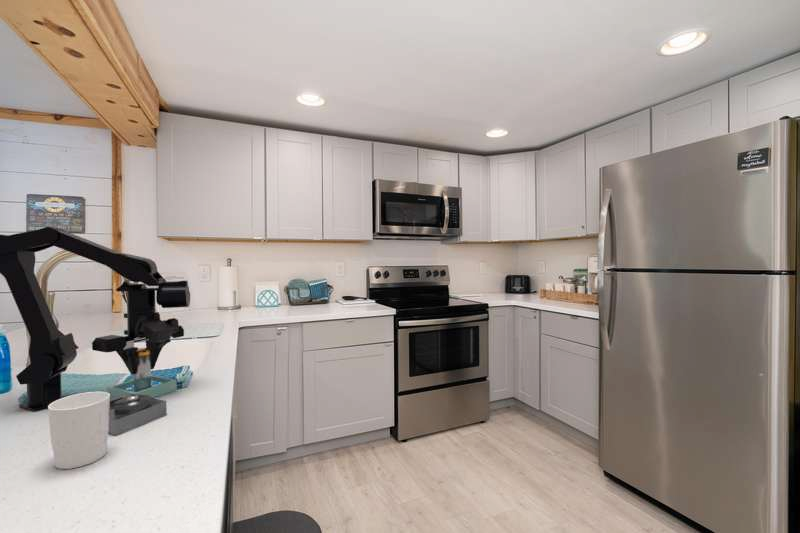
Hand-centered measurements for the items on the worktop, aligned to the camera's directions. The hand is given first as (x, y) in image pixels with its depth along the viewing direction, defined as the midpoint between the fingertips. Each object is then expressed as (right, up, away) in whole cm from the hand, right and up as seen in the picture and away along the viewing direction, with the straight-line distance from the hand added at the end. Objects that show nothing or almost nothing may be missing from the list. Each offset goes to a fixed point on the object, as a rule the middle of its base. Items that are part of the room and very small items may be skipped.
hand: (142, 371), depth 91 cm
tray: (0, -6, 0) cm, 6 cm away
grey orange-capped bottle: (0, -5, 0) cm, 5 cm away
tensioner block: (+6, -6, -14) cm, 16 cm away
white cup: (+10, -7, -29) cm, 31 cm away
